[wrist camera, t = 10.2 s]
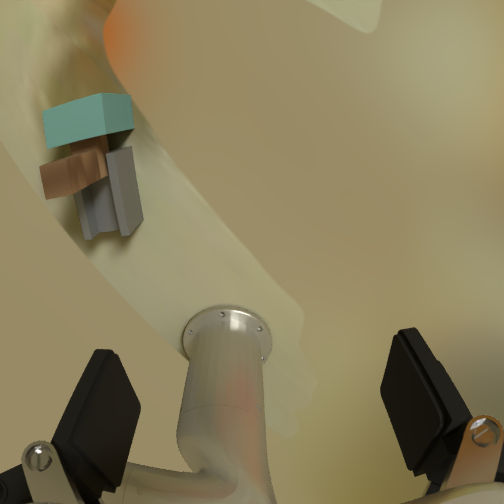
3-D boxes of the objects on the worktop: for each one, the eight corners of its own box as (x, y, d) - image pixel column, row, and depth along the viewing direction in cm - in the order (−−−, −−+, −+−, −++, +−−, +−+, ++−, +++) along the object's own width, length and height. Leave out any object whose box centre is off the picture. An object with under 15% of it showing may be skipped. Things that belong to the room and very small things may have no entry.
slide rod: (112, 172, 31) (72, 194, 23) (89, 176, 31) (46, 199, 23) (103, 109, 28) (59, 112, 20) (80, 116, 29) (32, 122, 20)
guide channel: (143, 219, 37) (129, 235, 33) (102, 224, 37) (84, 240, 33) (131, 146, 34) (114, 152, 29) (88, 154, 34) (67, 162, 29)
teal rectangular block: (134, 128, 33) (106, 134, 25) (82, 140, 33) (47, 149, 26) (130, 95, 31) (101, 92, 24) (78, 108, 31) (42, 111, 24)
